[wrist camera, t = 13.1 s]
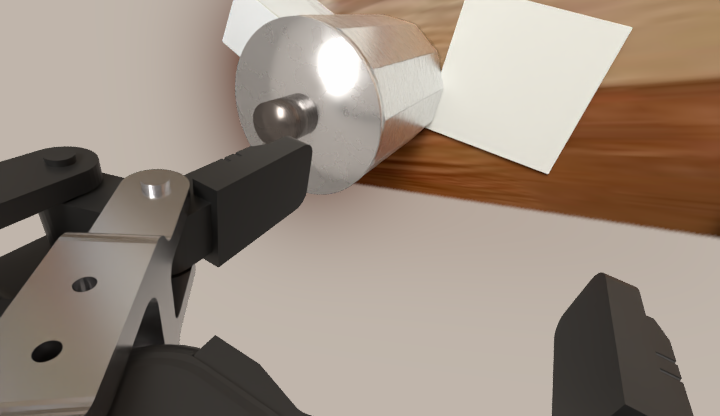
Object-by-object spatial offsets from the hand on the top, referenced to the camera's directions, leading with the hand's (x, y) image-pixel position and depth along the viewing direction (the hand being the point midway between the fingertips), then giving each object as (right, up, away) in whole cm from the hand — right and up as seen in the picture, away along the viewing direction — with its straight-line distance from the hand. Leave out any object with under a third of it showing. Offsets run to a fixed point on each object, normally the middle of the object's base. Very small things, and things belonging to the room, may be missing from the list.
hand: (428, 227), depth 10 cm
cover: (+1, +18, +40) cm, 44 cm away
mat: (+16, +15, +33) cm, 40 cm away
